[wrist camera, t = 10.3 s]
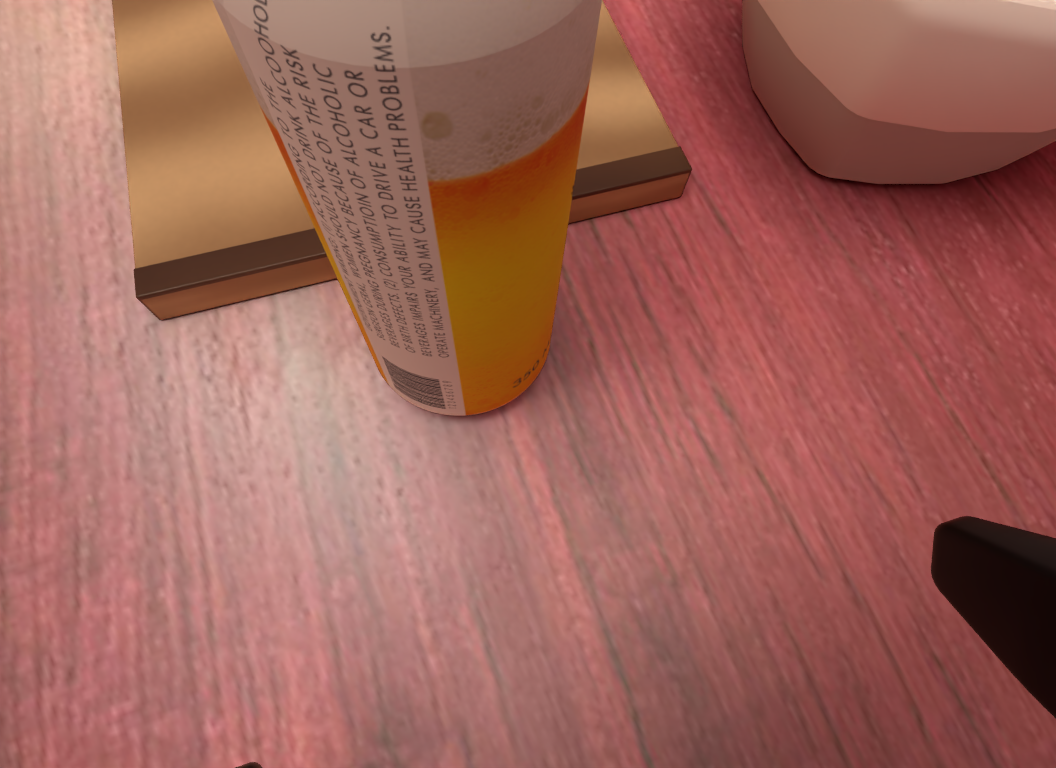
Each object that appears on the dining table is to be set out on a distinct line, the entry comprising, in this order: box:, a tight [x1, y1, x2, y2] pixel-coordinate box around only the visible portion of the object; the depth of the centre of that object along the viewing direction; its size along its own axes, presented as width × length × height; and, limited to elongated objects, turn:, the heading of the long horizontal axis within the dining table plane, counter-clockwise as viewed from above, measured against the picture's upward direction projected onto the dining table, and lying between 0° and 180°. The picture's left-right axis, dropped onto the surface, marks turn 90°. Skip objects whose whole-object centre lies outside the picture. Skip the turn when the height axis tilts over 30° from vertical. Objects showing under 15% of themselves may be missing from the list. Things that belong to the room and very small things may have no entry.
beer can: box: [212, 0, 602, 416], centre depth 15 cm, size 6×6×15 cm
